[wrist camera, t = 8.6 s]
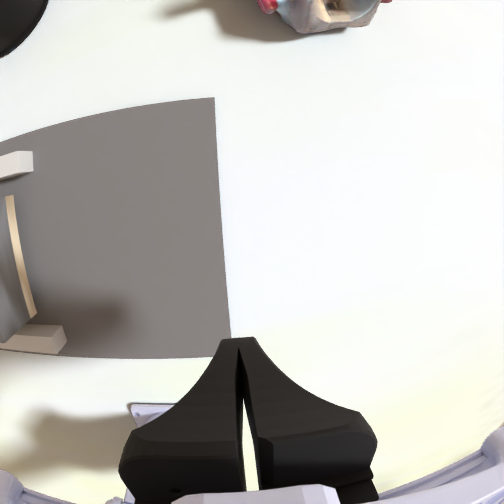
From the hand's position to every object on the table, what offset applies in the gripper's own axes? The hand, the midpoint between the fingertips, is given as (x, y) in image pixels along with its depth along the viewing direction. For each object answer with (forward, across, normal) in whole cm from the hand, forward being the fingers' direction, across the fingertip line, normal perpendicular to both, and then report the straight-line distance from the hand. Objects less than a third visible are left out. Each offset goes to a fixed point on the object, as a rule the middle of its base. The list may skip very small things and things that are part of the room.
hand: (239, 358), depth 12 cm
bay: (+9, +16, -3) cm, 19 cm away
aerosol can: (+10, +18, -24) cm, 31 cm away
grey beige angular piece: (+9, +21, -3) cm, 23 cm away
